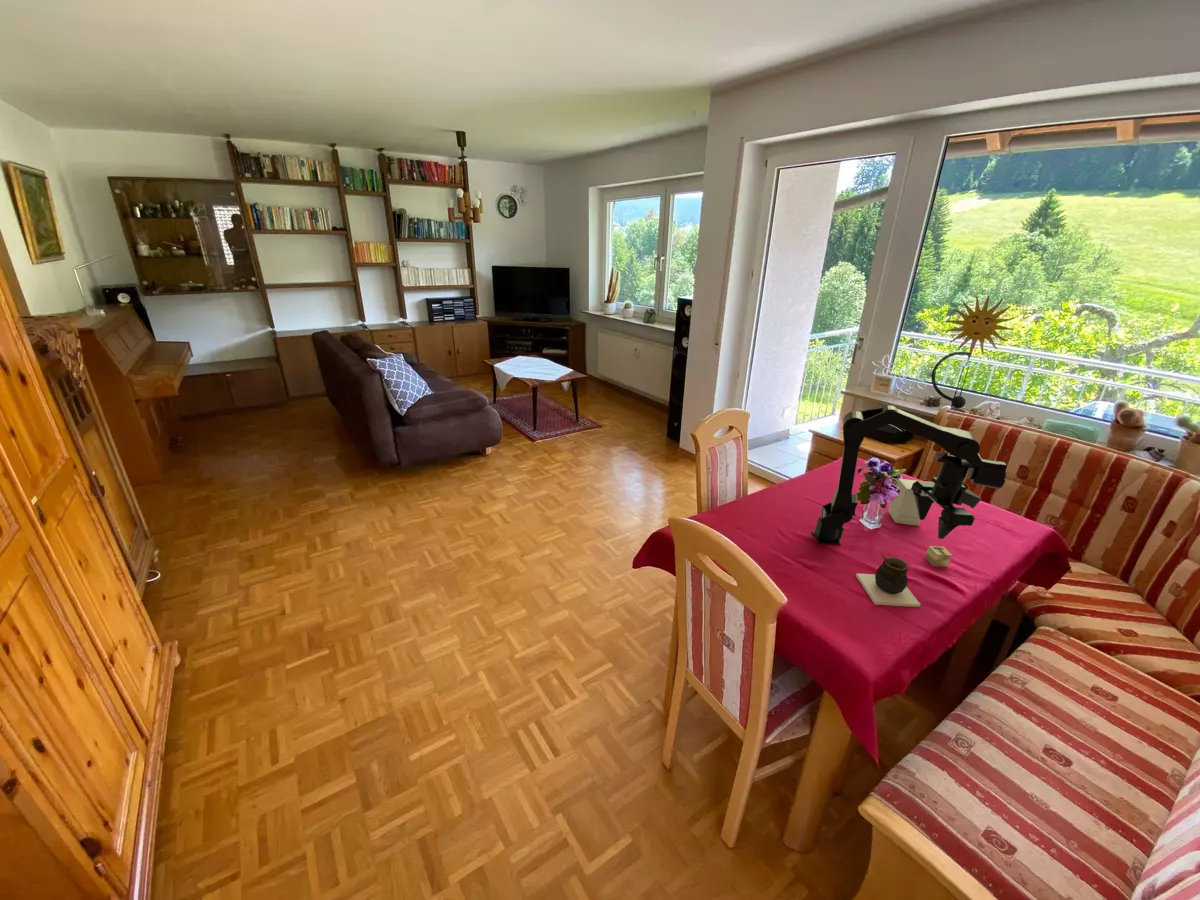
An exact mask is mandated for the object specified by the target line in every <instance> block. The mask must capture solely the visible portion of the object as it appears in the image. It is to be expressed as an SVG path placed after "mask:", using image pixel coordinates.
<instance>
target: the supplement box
mask: <svg viewBox="0 0 1200 900" xmlns="http://www.w3.org/2000/svg"><path fill="white" fill-rule="evenodd" d="M916 481H917V480H915V479H905V478H898V480H897V482H896V484H897V483H898V486H899V489H900V494H899V496H898V497H897V498H896V499H894V500H892V499H891V502H890V505H889V508H888V514H889V515H890V516H891V518H892V520H893V521H894V523H896V524H904V525H910V526H918V527H919V526H920V525H921V521H922V520H920V519H919V514H918V509H917V505H916V501H915V497H914V494H913V492H914V491H912V490H911V487H912V485H913V483H914V482H916Z"/></svg>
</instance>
